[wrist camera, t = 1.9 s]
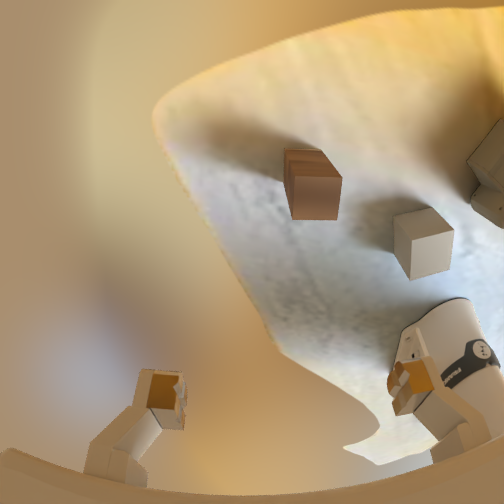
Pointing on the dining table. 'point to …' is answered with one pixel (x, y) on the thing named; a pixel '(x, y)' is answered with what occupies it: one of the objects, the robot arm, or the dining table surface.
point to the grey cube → (422, 242)
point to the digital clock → (490, 176)
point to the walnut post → (311, 185)
